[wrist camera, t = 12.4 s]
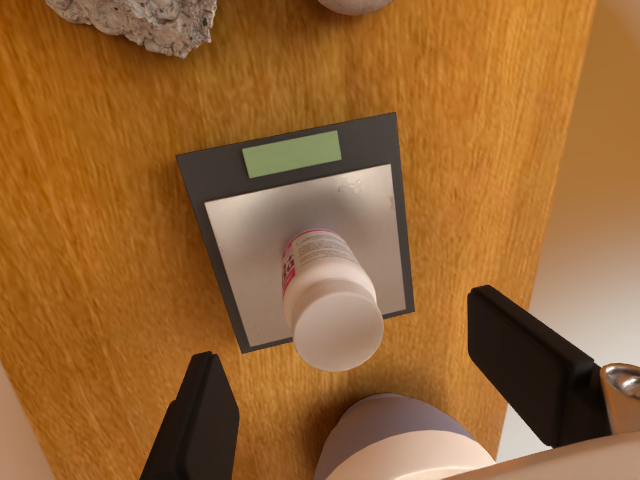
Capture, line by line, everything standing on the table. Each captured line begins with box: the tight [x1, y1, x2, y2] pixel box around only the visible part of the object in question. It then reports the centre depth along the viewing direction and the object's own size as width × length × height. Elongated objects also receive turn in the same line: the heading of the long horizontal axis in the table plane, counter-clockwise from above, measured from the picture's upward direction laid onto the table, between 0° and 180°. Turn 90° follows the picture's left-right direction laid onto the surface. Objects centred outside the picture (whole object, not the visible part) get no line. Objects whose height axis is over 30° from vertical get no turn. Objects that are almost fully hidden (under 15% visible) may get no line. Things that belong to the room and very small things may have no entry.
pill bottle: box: [282, 229, 384, 372], centre depth 17 cm, size 5×5×8 cm
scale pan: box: [204, 163, 406, 347], centre depth 21 cm, size 11×12×1 cm
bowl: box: [314, 393, 496, 480], centre depth 26 cm, size 16×16×10 cm
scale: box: [176, 112, 415, 354], centre depth 22 cm, size 15×14×3 cm
